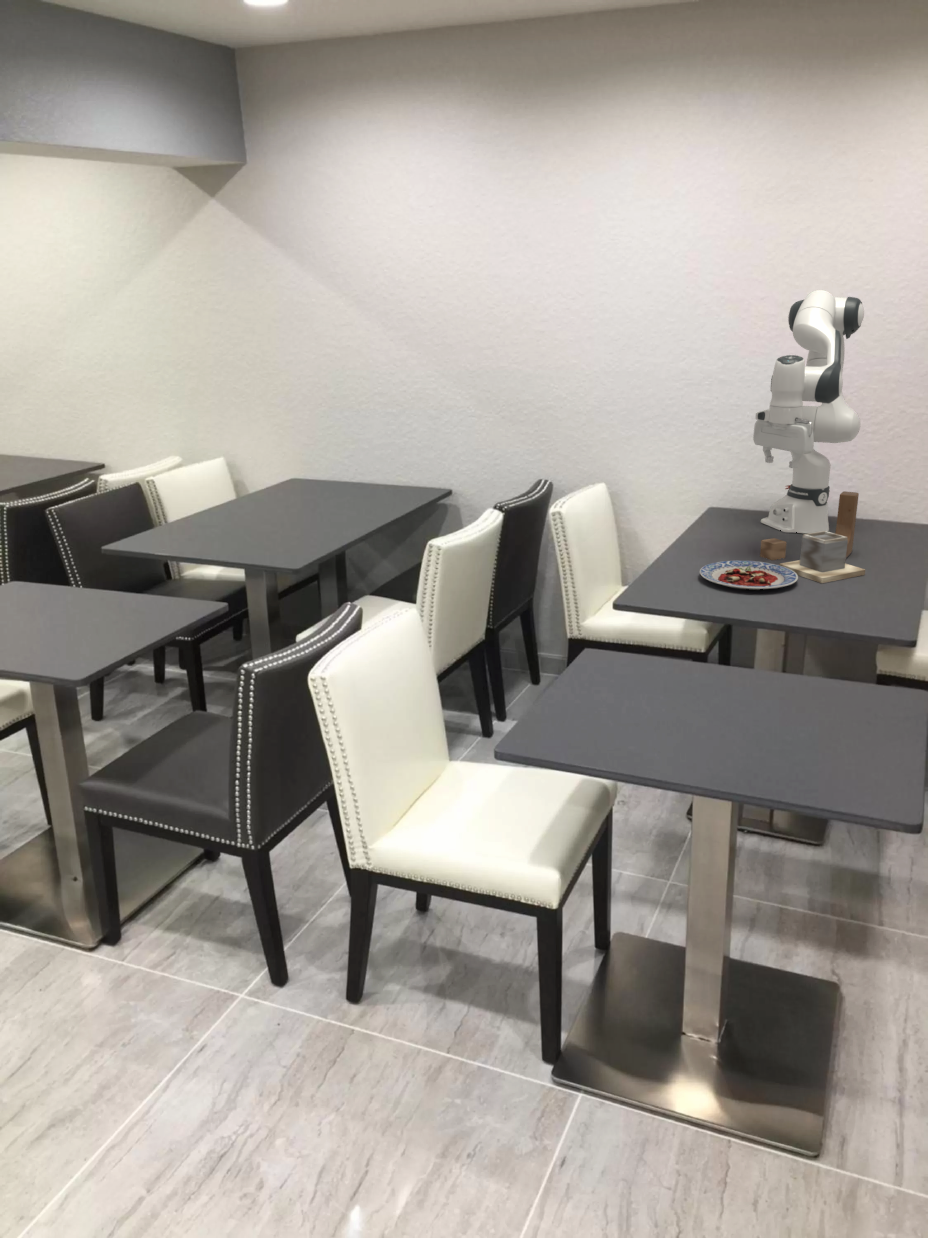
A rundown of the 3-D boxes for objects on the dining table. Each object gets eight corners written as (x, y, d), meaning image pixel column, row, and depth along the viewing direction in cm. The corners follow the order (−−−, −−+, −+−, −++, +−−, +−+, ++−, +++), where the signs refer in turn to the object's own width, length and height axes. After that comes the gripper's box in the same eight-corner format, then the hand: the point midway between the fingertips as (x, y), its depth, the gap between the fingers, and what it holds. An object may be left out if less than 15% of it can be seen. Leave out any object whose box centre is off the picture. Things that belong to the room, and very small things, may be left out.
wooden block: (845, 559, 292) (852, 498, 286) (829, 557, 294) (835, 496, 289) (852, 552, 299) (859, 492, 294) (836, 550, 302) (843, 490, 296)
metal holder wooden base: (778, 568, 284) (782, 533, 281) (820, 561, 291) (824, 526, 288) (821, 583, 271) (825, 546, 267) (864, 574, 278) (869, 538, 274)
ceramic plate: (794, 599, 259) (795, 588, 258) (692, 590, 267) (693, 579, 266) (799, 572, 282) (800, 562, 281) (705, 564, 290) (706, 554, 289)
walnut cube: (759, 556, 297) (761, 540, 295) (772, 554, 299) (774, 538, 297) (772, 560, 292) (773, 544, 291) (785, 558, 295) (786, 541, 293)
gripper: (821, 419, 275) (816, 469, 279) (768, 410, 292) (764, 458, 297) (804, 421, 272) (799, 472, 277) (751, 412, 289) (747, 460, 294)
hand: (780, 465), depth 287 cm, fingers open, 8 cm apart
